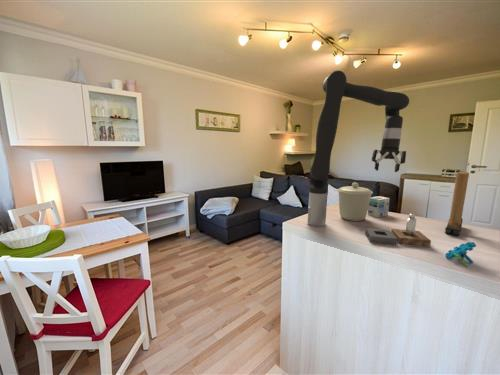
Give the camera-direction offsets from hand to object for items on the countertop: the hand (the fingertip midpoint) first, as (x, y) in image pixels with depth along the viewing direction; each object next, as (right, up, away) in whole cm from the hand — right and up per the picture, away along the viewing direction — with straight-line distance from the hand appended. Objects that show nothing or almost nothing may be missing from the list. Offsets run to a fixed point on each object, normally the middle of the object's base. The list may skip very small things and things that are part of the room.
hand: (386, 171), depth 111 cm
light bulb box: (+9, -25, +24) cm, 36 cm away
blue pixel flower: (+7, -35, -31) cm, 47 cm away
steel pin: (+2, -32, -14) cm, 35 cm away
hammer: (+32, -30, -2) cm, 44 cm away
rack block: (+2, -32, -14) cm, 35 cm away
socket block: (-11, -31, -12) cm, 35 cm away
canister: (-9, -26, +17) cm, 33 cm away
